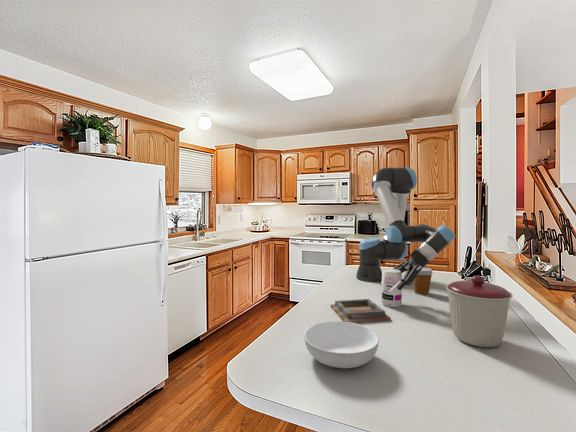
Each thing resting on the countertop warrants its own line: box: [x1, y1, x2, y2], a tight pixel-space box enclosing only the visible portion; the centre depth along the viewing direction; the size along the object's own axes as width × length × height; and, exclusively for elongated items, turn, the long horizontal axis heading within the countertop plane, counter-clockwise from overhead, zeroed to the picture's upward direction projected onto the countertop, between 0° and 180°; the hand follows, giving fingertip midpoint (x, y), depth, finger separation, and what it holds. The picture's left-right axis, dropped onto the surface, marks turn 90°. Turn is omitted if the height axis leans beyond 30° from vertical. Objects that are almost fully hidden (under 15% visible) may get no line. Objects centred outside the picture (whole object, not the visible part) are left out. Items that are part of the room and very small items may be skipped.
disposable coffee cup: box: [412, 266, 433, 296], centre depth 147 cm, size 10×10×12 cm
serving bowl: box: [303, 320, 380, 369], centre depth 86 cm, size 21×21×7 cm
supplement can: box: [381, 268, 403, 308], centre depth 130 cm, size 8×8×15 cm
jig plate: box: [330, 298, 392, 324], centre depth 121 cm, size 18×18×3 cm
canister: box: [445, 275, 514, 348], centre depth 97 cm, size 18×18×21 cm
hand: (386, 289), depth 131 cm, fingers open, 13 cm apart
